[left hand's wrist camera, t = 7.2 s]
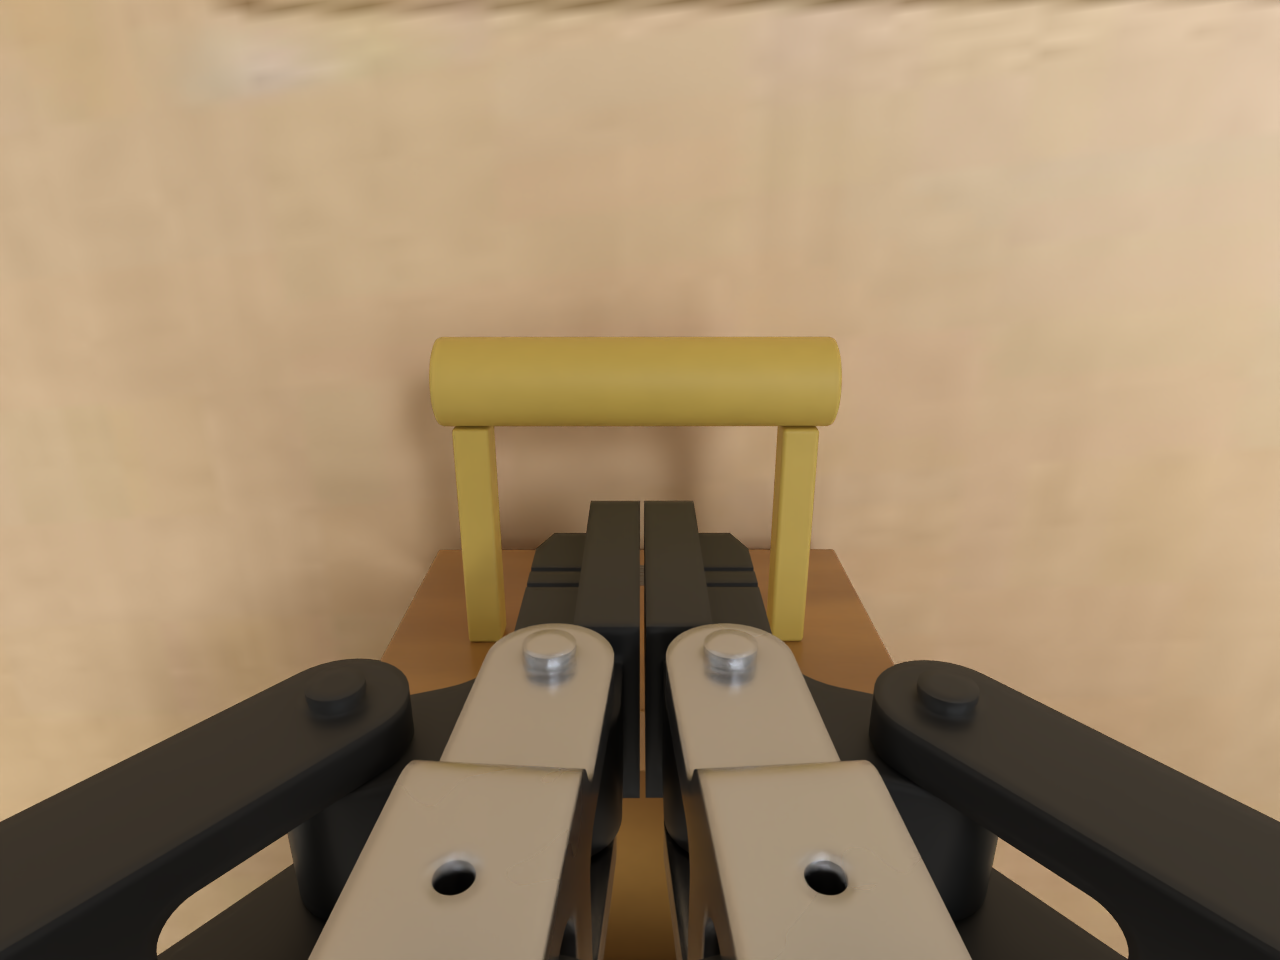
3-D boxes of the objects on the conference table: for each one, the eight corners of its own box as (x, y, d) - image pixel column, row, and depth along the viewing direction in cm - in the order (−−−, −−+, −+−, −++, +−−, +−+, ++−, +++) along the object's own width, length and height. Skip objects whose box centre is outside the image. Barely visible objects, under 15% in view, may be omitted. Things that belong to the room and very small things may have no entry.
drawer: (416, 304, 17) (302, 368, 11) (855, 304, 17) (967, 367, 11) (492, 1124, 25) (449, 1398, 20) (782, 1124, 25) (824, 1396, 20)
